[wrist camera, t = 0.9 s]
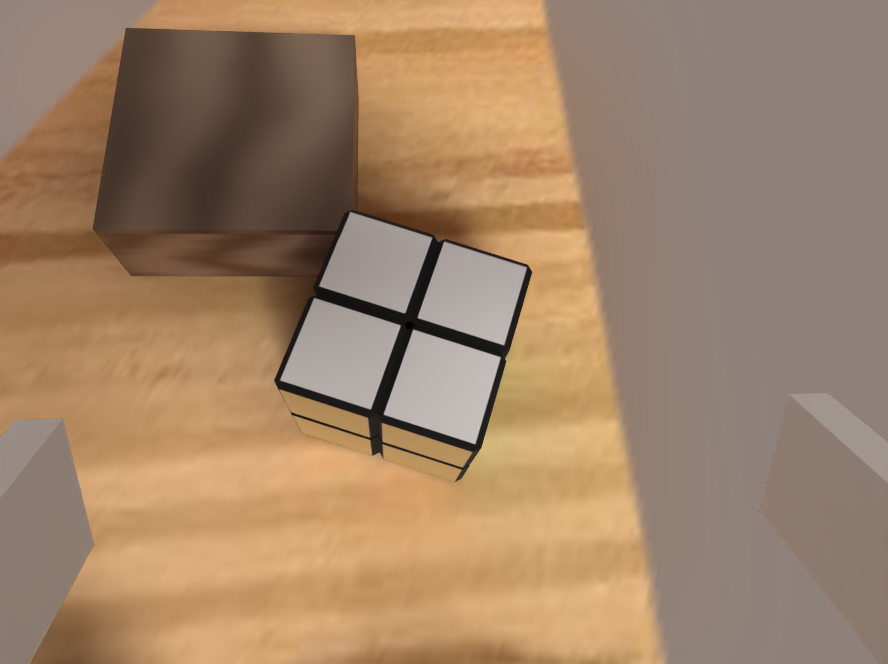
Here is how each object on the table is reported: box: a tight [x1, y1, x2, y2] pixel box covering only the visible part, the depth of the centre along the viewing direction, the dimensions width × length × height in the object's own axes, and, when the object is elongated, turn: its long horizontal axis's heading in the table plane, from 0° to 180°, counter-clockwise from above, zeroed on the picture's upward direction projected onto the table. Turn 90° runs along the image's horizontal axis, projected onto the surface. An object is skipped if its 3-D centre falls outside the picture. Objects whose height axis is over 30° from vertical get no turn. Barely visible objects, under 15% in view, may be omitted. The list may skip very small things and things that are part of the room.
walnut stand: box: [93, 28, 358, 276], centre depth 43 cm, size 14×14×6 cm
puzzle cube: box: [274, 210, 532, 482], centre depth 37 cm, size 10×10×10 cm
